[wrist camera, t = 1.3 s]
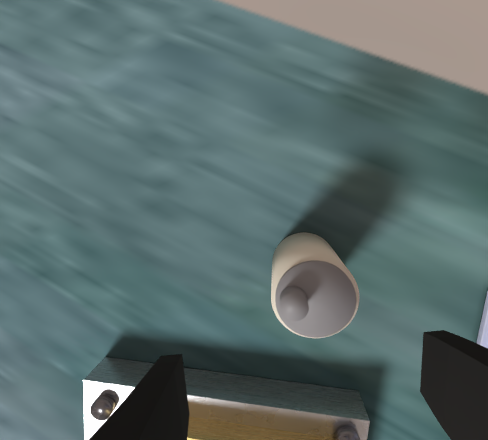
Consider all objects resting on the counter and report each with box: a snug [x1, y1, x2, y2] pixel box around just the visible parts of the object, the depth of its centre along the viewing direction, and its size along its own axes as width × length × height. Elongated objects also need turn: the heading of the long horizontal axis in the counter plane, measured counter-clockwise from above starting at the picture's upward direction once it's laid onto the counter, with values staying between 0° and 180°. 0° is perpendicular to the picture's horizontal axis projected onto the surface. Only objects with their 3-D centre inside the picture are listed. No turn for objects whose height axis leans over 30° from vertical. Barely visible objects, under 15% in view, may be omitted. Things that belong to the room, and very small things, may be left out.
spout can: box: [271, 232, 359, 338], centre depth 16 cm, size 4×4×7 cm
